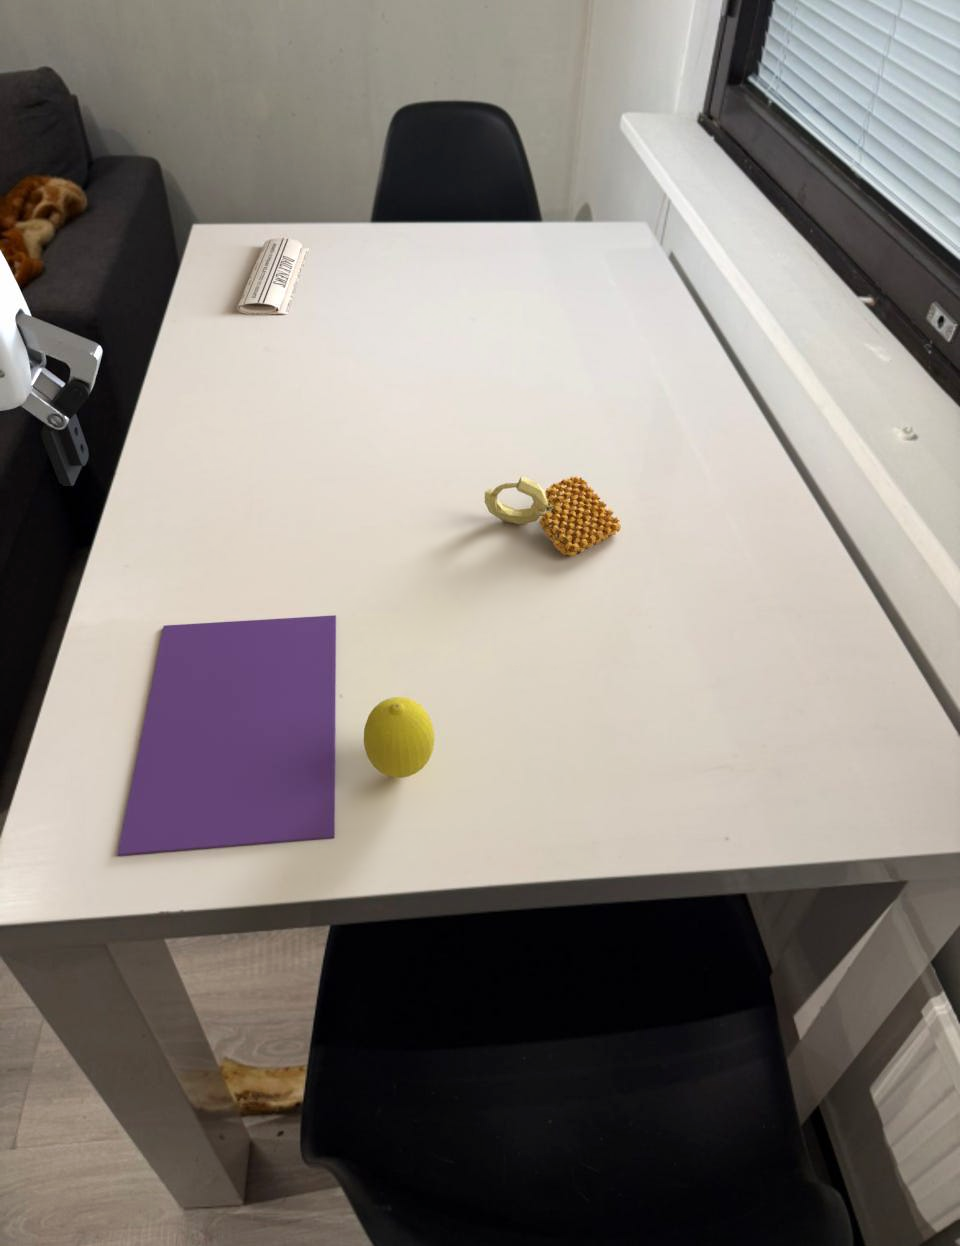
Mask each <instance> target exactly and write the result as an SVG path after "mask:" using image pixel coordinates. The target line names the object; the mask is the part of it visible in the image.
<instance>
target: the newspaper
mask: <svg viewBox="0 0 960 1246" xmlns="http://www.w3.org/2000/svg"><path fill="white" fill-rule="evenodd" d="M302 243H303V242H301V241H299V240H297V239H294V238H286V237H278V238H270V239H268V240H265V241H264V243H263V246H262V248H261V250H260V253H259V255H258V257H257V260H256V262H255V264H254V267H253V269H252V271H251V273H250V276H249V278H248V281H247V283H246V286H245V288H244V290H243V292H242V295H241V297H240V299H239V302H238V303H237V307H236V308H237V311H238V312H240V313H241V314H246V315H264V316H265V315H267V316H268V315H278V314H280V315H282V314H283V315H288V313H289V310H290V306H291V304H292V301H293V299H294V295H295V292H296V288H297V286H298V283H299V280H300V277H301V275H302V271H303V268H304V265H305V263H306V259H307V255H308V253H309V250H310V248H308V247H303V245H302Z"/></svg>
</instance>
